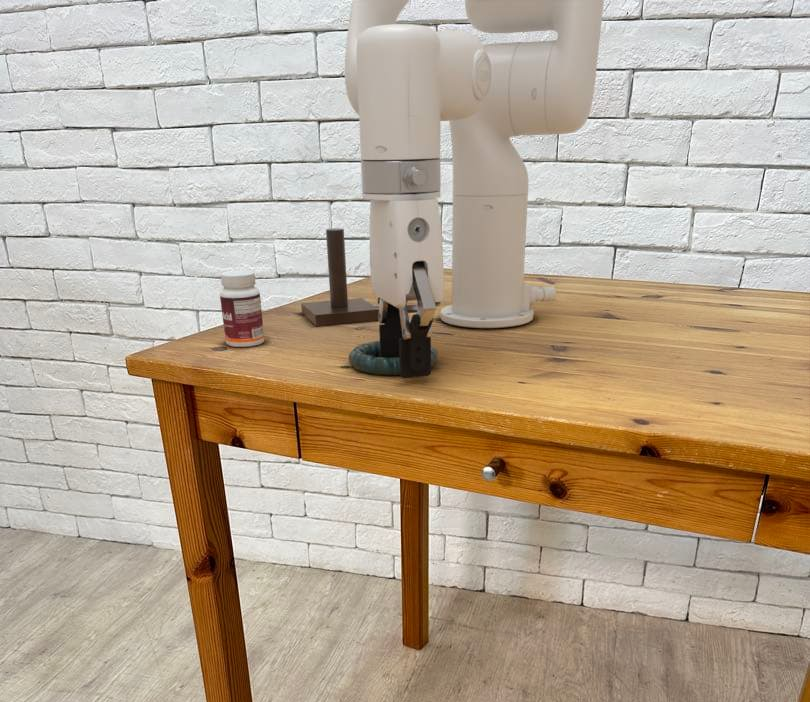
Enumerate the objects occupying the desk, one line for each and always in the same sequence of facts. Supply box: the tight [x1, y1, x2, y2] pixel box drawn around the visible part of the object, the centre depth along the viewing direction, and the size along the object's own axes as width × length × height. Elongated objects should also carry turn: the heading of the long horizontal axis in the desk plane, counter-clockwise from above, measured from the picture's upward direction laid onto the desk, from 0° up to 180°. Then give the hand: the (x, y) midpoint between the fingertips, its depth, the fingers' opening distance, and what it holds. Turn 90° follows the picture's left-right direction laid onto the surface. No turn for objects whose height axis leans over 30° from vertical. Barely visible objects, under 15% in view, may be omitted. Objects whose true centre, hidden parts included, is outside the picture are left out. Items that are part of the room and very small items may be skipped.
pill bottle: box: [219, 269, 265, 348], centre depth 93 cm, size 5×5×8 cm
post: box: [300, 227, 379, 327], centre depth 105 cm, size 9×9×12 cm
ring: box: [348, 340, 439, 376], centre depth 85 cm, size 10×10×2 cm
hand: (404, 366), depth 81 cm, fingers open, 5 cm apart
